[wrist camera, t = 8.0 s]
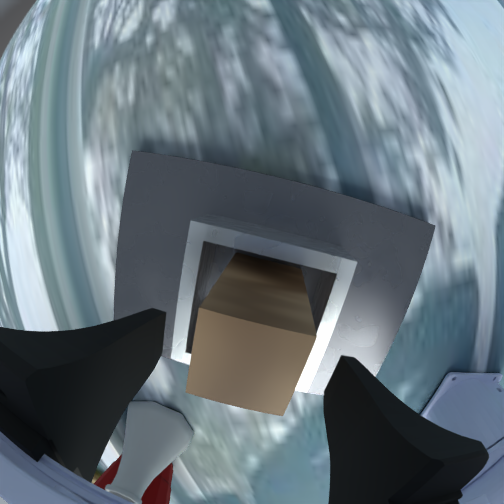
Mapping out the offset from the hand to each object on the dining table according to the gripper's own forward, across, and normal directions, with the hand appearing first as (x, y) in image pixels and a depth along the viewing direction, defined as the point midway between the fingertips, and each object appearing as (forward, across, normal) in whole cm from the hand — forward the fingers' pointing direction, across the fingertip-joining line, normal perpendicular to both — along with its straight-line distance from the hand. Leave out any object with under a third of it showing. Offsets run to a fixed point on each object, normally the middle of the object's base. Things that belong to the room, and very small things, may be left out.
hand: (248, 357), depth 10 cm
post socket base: (+8, 0, 0) cm, 8 cm away
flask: (+8, +6, +17) cm, 20 cm away
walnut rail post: (+7, 0, 0) cm, 7 cm away
